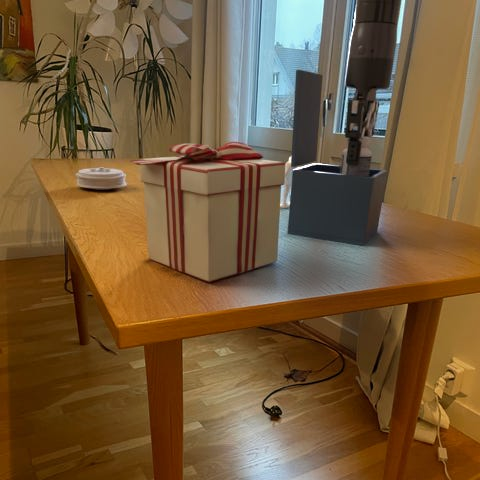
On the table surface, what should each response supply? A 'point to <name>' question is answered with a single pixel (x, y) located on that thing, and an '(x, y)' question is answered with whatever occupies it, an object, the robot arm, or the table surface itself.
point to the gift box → (212, 209)
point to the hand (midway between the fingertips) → (356, 162)
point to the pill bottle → (364, 161)
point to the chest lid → (306, 117)
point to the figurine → (287, 183)
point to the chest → (335, 203)
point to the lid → (101, 178)
